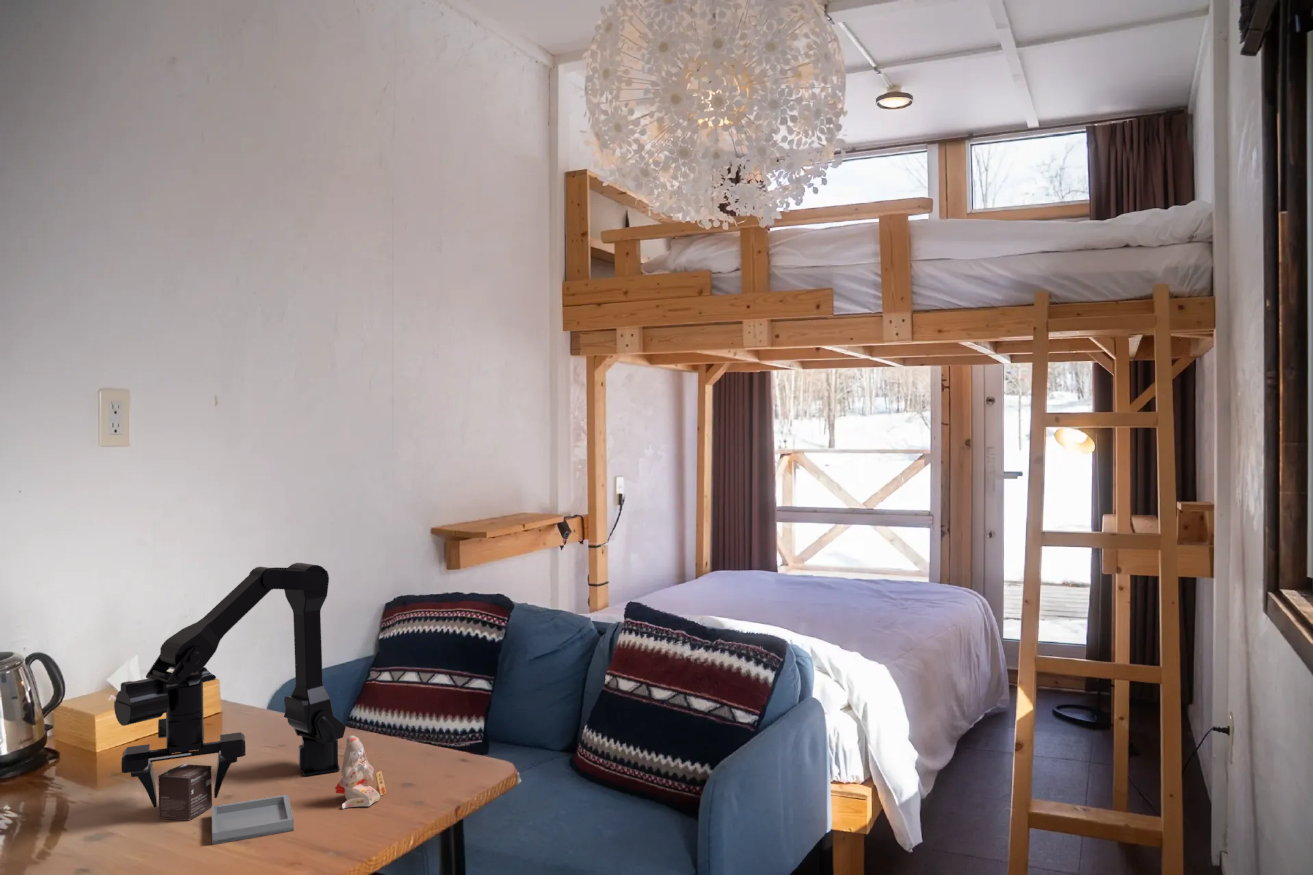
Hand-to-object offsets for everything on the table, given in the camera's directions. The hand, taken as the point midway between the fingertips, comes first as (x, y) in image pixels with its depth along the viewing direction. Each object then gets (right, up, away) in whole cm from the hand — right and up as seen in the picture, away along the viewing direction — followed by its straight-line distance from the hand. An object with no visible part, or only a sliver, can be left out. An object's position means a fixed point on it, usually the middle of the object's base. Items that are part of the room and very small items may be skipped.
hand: (185, 801), depth 162 cm
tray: (+13, -2, -5) cm, 14 cm away
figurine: (+29, -2, +5) cm, 29 cm away
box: (0, -2, 0) cm, 2 cm away
